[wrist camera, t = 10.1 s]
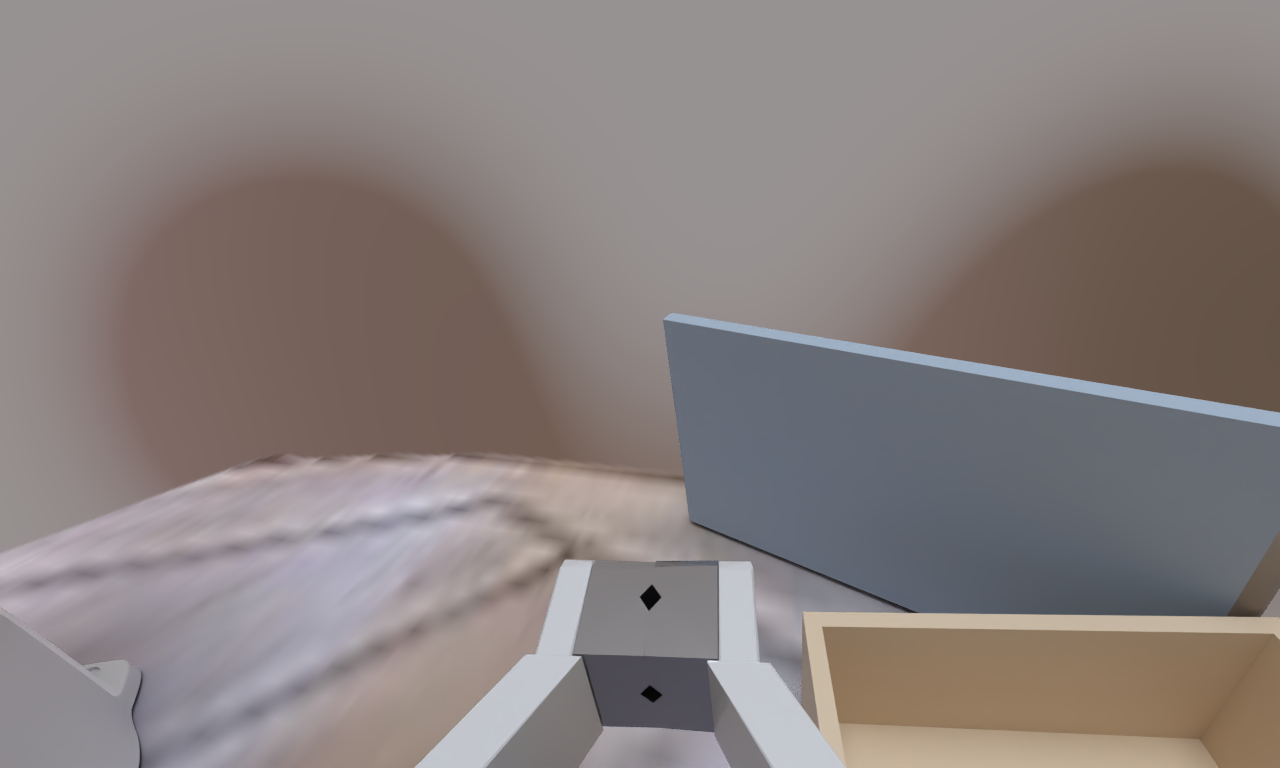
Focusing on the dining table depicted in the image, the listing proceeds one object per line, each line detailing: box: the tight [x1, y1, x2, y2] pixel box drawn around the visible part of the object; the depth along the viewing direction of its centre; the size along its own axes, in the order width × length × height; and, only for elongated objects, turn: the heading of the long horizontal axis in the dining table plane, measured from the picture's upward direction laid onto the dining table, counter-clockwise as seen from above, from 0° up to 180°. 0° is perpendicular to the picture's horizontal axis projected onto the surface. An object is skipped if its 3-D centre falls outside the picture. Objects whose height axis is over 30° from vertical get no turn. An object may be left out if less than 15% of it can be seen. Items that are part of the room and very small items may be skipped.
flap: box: [663, 313, 1280, 617], centre depth 25 cm, size 23×1×14 cm, turn 54°
